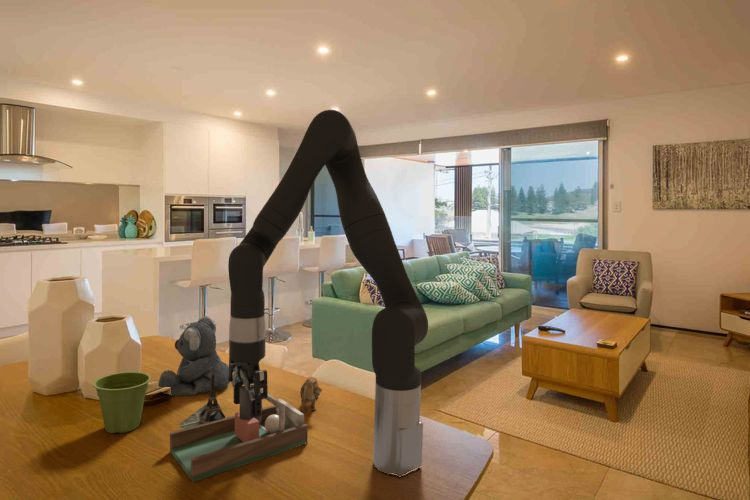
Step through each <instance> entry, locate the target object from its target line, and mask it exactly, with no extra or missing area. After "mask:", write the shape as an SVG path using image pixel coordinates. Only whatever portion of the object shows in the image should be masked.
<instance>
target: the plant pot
mask: <svg viewBox="0 0 750 500" xmlns="http://www.w3.org/2000/svg"><path fill="white" fill-rule="evenodd" d="M151 379H152V376H151V375H150V374H149V373H146V372H140V371H123V372H116V373H111V374H106V375H105V376H104V375H103V376H101V377H99V378H97V379H95V381H93V383H92V386H93V388H95V390H96V395H97V397H98V400H99V404H100V405H99V406H100V409H101V410H100V411H101V416H102V420H103V426H104V429H105V432H107V433H110V434H116V433H120V434H123V433H128V432H132V431H134V430H136V429H137V428H139V425H141V419H142V414H143V409H144V403H145V397H146V392H147V390H148V386H149V383H150V381H151Z"/></svg>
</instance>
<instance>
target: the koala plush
mask: <svg viewBox="0 0 750 500" xmlns="http://www.w3.org/2000/svg"><path fill="white" fill-rule="evenodd" d="M216 326H217V323H216V322H215V321H214V320H213V319H212V318H211V317H209V316H207V315H204V316H202V317H200V318H199V319H198V320H197V321H196V322H193V323H190V324H189V325H187V326H186V328H185V329H184V330H183V332H182V333H181V334H180V336H179V339H176V340H175V342H174V348H175V349H176V351H178V354H179V355H180V356H181V357H182V359H180V360H181V361H180V363H179V367H178V368H177V372H174V371H173V370H170V369H168V370H164V371H162V372H161V374H160V376H159V380H158V386H159V387H171V394H172V395H171V396H191V397H192V396H193V397H194V396H197V395H198V394H199V393H202V394H206V393H208V392H210V390H211V378H212V373H211V371H212V370H214V385H215V391H219V390H224V389H225V388H227V387H228V386H229V384H230V383H231V382H229V364H227V363H226V362H224V361H222V360H221V357H220V356H219V354H218V352H217V350H216V349H217V337H216V336H217V335H216V332H217V327H216ZM158 386H157V387H158Z"/></svg>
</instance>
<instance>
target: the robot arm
mask: <svg viewBox="0 0 750 500" xmlns="http://www.w3.org/2000/svg"><path fill="white" fill-rule="evenodd" d="M324 167H326V170H327V172H328V174H329V176H330V179H331V181H332V184H333V187H334V188H335V195H336V201H337V208H338V211H339V212H338V213H339V218H340V221H341V222H340V223H341V225H342V228H343V232H344V234H345V237H346V239H347V240H346V241H347V242H348V246H349V247H350V248H349V249H350V250H351V252H352V254H353V256H354V257H355V259H356V260H357V261H358V263H359V264H360V265H361V267H363V268H364V270H365V272H366V273H367V274H368V275H369V276H370V278H371V279H372V280H373V282H374V284H375V285H376V287H377V288H378V290H379V293H380V295H381V299H382V301H383V305H384V308H382V309H381V310H379V311H378V312H377V314H376V315H375V317H374V319H373V322H372V328H371V365H372V369H373V371H374V374H375V386H374V387H375V389H374V390H375V392H374V393H375V394H374V423H373V450H372V452H373V460H372V461H373V462H372V463H374V465H375V466H374V465H373V466H374V468H375V467H376V468H377V469H379V470H381V471H383V472H386V473H394V474H397V475H398V476H402V475H403V474H406V473H407V472H409V471H411V470H413V469H415V468H417V467H420V466H422V465H423V464H422V463H423V439H424V436H423V435H424V423H423V422H421V421H420V417H421V415H420V414H421V398H422V397H421V396H422V395H421V392H422V390H421V389H422V370H421V369H420V367H418V366H416V364H415V363H416V361H415V360H416V359H415V355H416V354H415V353H416V352H415V347H416V346H417V345H418V344H420V343H421V342H423V340H425V338H426V336H427V334H428V331H429V319H428V315H427V314H426V311H425V308H424V307H423V304H422V303H421V300H420V299H419V296H418V295H417V292H416V291H415V289H414V287H413V285H412V282H411V281H410V278H409V275H408V273H407V271H406V269H405V266H404V265H405V264H404V263H403V260H402V257H401V254H400V252H399V248H398V247H397V244H396V241H395V238H394V236H393V233H392V232H393V231H392V229H391V227H390V224H389V222H388V219H387V216H386V214H385V211H384V209H383V206H382V204H381V202H380V200H379V198H378V195H377V193H376V192H375V190H374V187H372V184H371V183H370V180H369V178H368V176H367V174H366V171H365V168H364V164H363V161H362V158H361V154H360V148H359V145H358V139H357V135H356V132H355V130H354V128H353V126H352V124H351V122H350V120H349V119H348V117H346V115H345V114H344V113H342V111H339V110H336V109H325V110H323V111H320V112H319V113H317V114H316V115H315V116H314V117H313V119H312V120H311V121H310V123H309V125H308V127H307V129H306V131H305V133H304V136H303V138H302V140H301V142H300V145H299V147H298V148H297V151H296V152H295V155H294V156H293V158H292V160H291V162H290V164H289V166H288V168H287V169H286V172H285V173H284V174H283V176H282V178H281V179H280V181H279V183H278V184H277V186H276V187H275V189H274V191H273V193H271V195H270V196H269V198H268V199H267V201H266V203H265V204H264V205H263V206H262V208H261V210H260V211H259V212H258V214H257V216H256V217H255V218H254V221H253V222H252V223H253V224H252V226H251V228H250V229H249V231H248V232H247V233H246V235H245V236H244V238H242V240H241V242H240V243H239V244H238V245H237V246H235V247H234V248H233V249H232V251H231V252H230V254H229V256H228V265H227V266H228V279H229V287H230V315H229V316H230V317H229V324H228V326H229V327H228V328H229V329H228V336H229V337H228V366H229V382H230V383H231V387H232V388H233V403H234V405H240V387H241V386H245V389H246V391H248V392H249V395H250V399H251V400H250V416H251V417H252V418H255V417H259V416H261V414H262V408H263V400H264V399H265V400H266V398H267V397H268V394H269V392H268V371H267V369H261V368H260V361H261V360H263V359H264V358H265V356H266V331H267V330H266V327H267V326H266V319H265V311H266V310H265V303H266V302H265V292H264V289H263V285H264V284H263V283H264V282H263V281H264V280H263V279H264V267H265V265H266V264H267V262H268V261H269V259H270V257H271V256H272V254H273V252H274V251H275V249H276V248H277V246H278V244H279V242H280V241H282V240H283V238H284V237H285V236H286V234H287V233H288V232H289V230H290V229H291V227H292V226H293V224H294V223H295V221H296V220H297V219H298V217H299V215H300V213H301V211H302V210H303V208H304V205H305V204H306V201H307V199H308V196H309V194H310V191H311V189H312V187H313V184H314V183H315V181H316V178H317V177H318V175H319V174H320V172H321V171H322V169H323V168H324ZM253 390H254V392H253ZM262 390H263V391H262ZM376 468H375V469H376ZM377 469H376V470H377ZM379 470H378V471H379Z"/></svg>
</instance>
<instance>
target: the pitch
mask: <svg viewBox="0 0 750 500" xmlns="http://www.w3.org/2000/svg"><path fill="white" fill-rule="evenodd" d="M262 391H263V389H262ZM265 400H266V401H268V402H269V403H270V404H271V405H270V406H267V407H262V414H261V416H259V417H255V418H256V419H257V420H258V421H259V438H257V439H254V440H250V441H247V442H244V443H243V442H242V441H241V440H240V439H239V438H238V437H237V436H236V435H235V415H231V416H228V417H227V416H226V417H227V418H224V419H220V420H216V421H212V422H208V423H205V424H201V425H197V426H193V427H189V428H186V429H184V428H181V429H178V430H175V431H174V430H173V431H171V432H169V453H170V454H171V455H172V457H173V458H174V459H175V461H176V462H177V463H178V464H179V466H180V467H181V469H182V470H183V471H184V472H185V474H186V475H187V477H188V478H189V479H190V480H191V481H192V483H194V482H197V481H200V480H203V479H207V478H210V477H212V476H215V475H219V474H222V473H225V472H228V471H230V470H234V469H236V468H240V467H242V466H245V465H248V464H252V463H254V462H257V461H260V460H263V459H267V458H269V457H272V456H275V455H278V454H281V453H284V452H287V451H290V450H292V449H291V448H293V449H295V448H294V447H296V446H299V445H302V444H305V443H307V444H308V434H309V433H308V430H309V429H308V424H306V423H305V414H304V412H301V410H299V409H297V408H295V407H294V406H292V405H291V404H290V403H288V402H287V401H285V400H284V399H282V398H275V397H273V396H272V395H271V394H269V393H268V397H267V398H266V399H265ZM273 414H276V415H279V431H278V432H277V433H270V432H268V431H267V430H266V428H265V421H266V419H267V418H268V417H269V416H270V415H273ZM305 445H306V444H305ZM302 446H303V445H302ZM299 447H300V446H299ZM296 448H297V447H296ZM289 449H290V450H289ZM286 450H287V451H286Z"/></svg>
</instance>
